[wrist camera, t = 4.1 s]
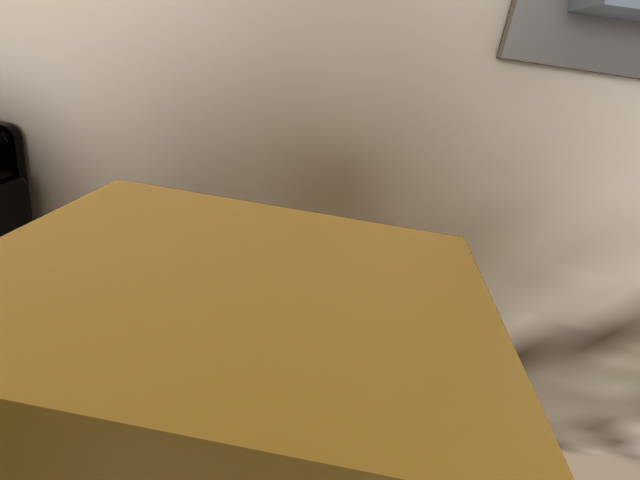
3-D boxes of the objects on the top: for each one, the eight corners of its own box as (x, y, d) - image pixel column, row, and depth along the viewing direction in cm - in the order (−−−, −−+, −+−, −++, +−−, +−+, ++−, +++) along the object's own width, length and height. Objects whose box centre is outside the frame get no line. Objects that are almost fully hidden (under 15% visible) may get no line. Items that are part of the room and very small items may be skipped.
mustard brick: (128, 434, 9) (-67, 735, 5) (117, 178, 7) (-233, 352, 3) (393, 488, 9) (404, 852, 5) (464, 237, 7) (592, 517, 3)
